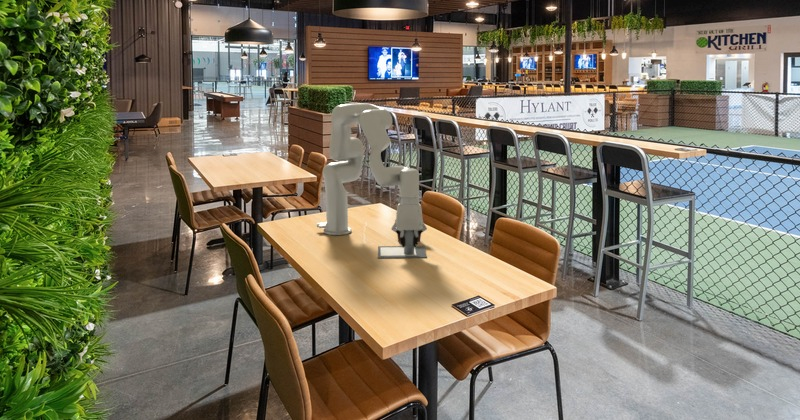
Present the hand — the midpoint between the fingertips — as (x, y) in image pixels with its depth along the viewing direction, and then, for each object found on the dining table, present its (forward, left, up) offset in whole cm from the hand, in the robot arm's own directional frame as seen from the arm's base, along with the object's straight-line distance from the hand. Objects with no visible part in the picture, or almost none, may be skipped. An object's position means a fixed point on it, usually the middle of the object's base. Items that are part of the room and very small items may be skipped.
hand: (409, 245), depth 229 cm
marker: (0, 0, -3) cm, 3 cm away
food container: (+1, +21, -4) cm, 21 cm away
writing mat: (-3, +3, -4) cm, 6 cm away
